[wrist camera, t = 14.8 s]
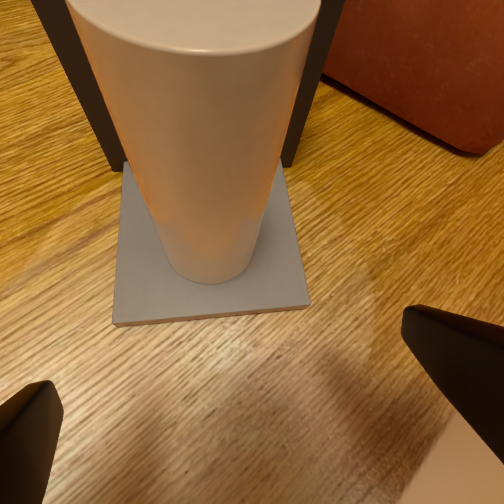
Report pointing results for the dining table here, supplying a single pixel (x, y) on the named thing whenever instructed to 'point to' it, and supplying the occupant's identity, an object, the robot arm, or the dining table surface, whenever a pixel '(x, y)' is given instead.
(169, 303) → the coffee maker
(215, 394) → the dining table surface
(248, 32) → the beige cylinder
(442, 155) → the dining table surface
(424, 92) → the bread
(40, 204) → the dining table surface
